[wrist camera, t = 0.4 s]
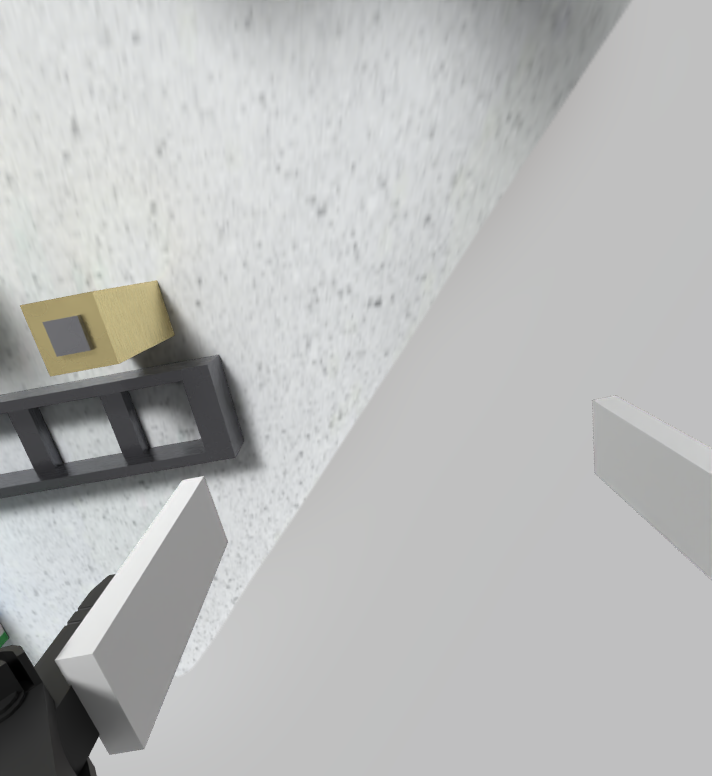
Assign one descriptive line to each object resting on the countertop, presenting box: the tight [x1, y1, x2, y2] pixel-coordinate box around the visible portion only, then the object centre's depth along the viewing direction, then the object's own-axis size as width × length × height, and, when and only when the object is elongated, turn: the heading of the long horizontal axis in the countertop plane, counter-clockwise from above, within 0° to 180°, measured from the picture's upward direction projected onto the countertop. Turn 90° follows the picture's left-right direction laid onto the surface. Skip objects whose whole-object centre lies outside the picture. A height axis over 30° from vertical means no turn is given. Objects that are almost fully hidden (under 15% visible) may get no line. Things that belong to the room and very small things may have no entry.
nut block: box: [20, 280, 175, 376], centre depth 33 cm, size 5×5×10 cm
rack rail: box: [0, 355, 244, 498], centre depth 40 cm, size 9×30×4 cm, turn 100°
